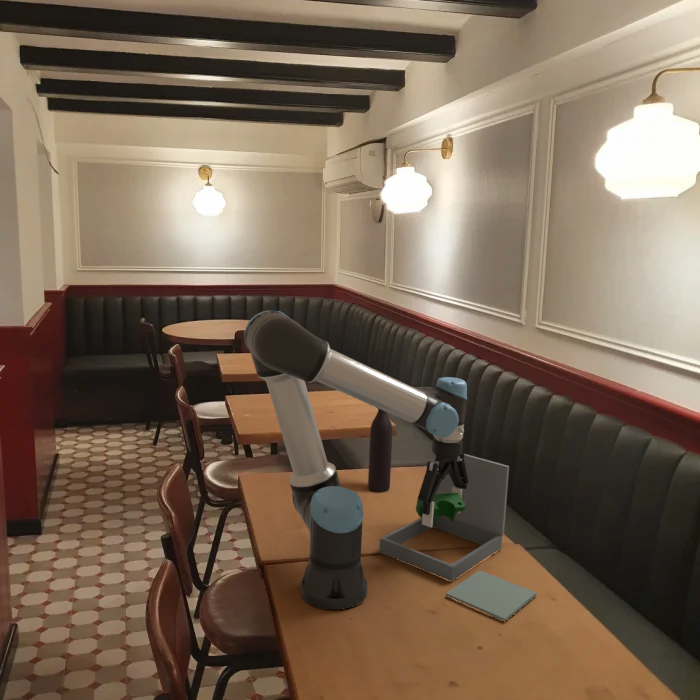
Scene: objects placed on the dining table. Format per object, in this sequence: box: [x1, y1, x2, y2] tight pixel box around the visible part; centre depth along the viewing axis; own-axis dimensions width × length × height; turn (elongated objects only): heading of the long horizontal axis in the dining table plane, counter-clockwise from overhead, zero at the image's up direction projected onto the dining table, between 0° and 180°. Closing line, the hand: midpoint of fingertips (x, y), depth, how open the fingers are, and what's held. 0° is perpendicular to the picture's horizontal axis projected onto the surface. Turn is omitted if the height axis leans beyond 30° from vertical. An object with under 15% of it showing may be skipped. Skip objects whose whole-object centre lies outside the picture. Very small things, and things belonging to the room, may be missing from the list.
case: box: [378, 453, 510, 581], centre depth 178 cm, size 25×22×23 cm
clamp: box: [415, 493, 465, 524], centre depth 177 cm, size 12×6×9 cm, turn 101°
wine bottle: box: [367, 408, 393, 493], centre depth 219 cm, size 7×7×30 cm
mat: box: [445, 570, 537, 621], centre depth 158 cm, size 15×15×1 cm
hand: (441, 518), depth 178 cm, fingers closed on clamp, 12 cm apart
